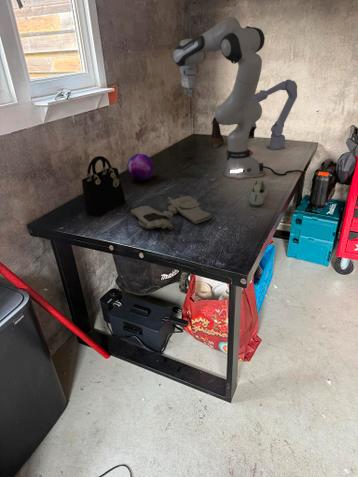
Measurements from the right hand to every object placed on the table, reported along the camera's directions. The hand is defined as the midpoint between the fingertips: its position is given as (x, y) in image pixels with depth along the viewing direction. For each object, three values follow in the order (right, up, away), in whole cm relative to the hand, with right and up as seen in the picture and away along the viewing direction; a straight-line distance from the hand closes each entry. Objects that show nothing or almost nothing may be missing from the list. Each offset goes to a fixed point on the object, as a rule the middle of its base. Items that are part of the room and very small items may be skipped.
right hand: (249, 135), depth 230 cm
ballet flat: (-11, -52, -70) cm, 87 cm away
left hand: (-44, +15, -29) cm, 55 cm away
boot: (-20, 0, +21) cm, 29 cm away
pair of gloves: (-53, -62, -83) cm, 117 cm away
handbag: (-85, -57, -71) cm, 124 cm away
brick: (0, -1, +1) cm, 2 cm away
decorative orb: (-71, -38, -40) cm, 90 cm away
